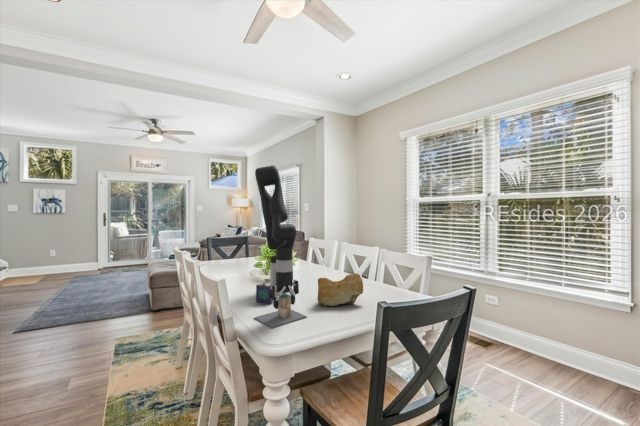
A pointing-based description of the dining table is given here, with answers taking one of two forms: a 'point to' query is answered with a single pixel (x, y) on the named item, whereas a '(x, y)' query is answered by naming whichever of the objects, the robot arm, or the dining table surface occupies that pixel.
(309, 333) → the dining table surface
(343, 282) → the rough brown rock
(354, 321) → the dining table surface
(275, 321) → the rubber mat
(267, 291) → the flask
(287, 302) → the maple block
